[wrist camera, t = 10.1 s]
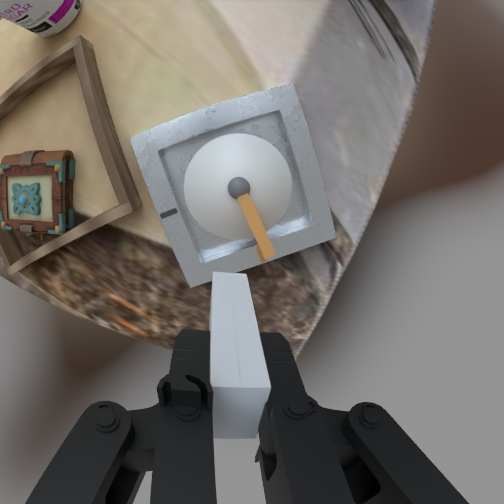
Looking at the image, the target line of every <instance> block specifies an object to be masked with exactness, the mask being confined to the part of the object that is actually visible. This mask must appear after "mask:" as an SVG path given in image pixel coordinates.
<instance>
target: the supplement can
mask: <svg viewBox="0 0 504 504" xmlns="http://www.w3.org/2000/svg"><path fill="white" fill-rule="evenodd" d="M81 4H82V0H0V17H2V18H4V19H7V20H9V21H11V22H13V23H15V24H17V25H20V26H22V27H24V28H26V29H28V30H30V31H32V32H34V33H36V34H38V35H40V36H42V37H49V36H52V35H55V34H57V33H58V32H60V31H62V30H63V29H65V28H66V27H67V26H68V25H69V24H70V23H71V22H72V21H73V20H74V18H75V17H76V16H77V14H78V12H79V10H80V8H81Z"/></svg>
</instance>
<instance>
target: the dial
mask: <svg viewBox="0 0 504 504" xmlns="http://www.w3.org/2000/svg"><path fill="white" fill-rule="evenodd" d="M291 194H292V178H291V173H290V170H289V167H288V164H287V162H286V160H285V159H284V157H283V156H282V154H281V153H280V152H279V151H278V150H277V149H276V148H275V147H274V146H273V145H272V144H270V143H269V142H267V141H266V140H264V139H262V138H260V137H257V136H254V135H249V134H241V133H236V134H228V135H224V136H221V137H218V138H215V139H214V140H212V141H210V142H208V143H207V144H206V145H204V146H203V147H202V148H201V149H200V150H199V151H198V152H197V153H196V154H195V155H194V157H193V158H192V160H191V162H190V163H189V166H188V168H187V171H186V174H185V179H184V196H185V200H186V204H187V207H188V209H189V211H190V213H191V214H192V216H193V218H194V219H195V220H196V221H197V223H199V224H200V225H201V226H202V227H203V228H204V229H205V230H207V231H208V232H210V233H212V234H214V235H216V236H219V237H222V238H226V239H233V240H241V239H248V238H252V237H255V239H256V241H257V243H258V245H259V247H260V249H261V252H262V254H263V256H264V258H265V259H268V258H270V257H272V256H274V255H276V253H275V251H274V248H273V246H272V244H271V242H270V239H269V237H268V235H267V232H266V231H268V230H269V229H271V228H272V227H273V226H274V225H275V224H276V223H277V222H278V221H279V220H280V219H281V218H282V216H283V215H284V213H285V211H286V209H287V207H288V205H289V202H290V199H291Z"/></svg>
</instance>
